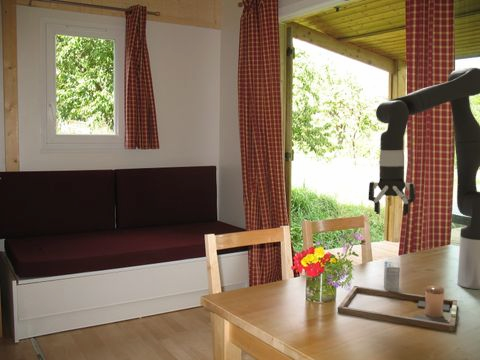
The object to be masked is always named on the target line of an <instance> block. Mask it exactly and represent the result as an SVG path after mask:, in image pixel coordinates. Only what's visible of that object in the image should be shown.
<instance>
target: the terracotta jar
mask: <svg viewBox="0 0 480 360" xmlns="http://www.w3.org/2000/svg"><path fill="white" fill-rule="evenodd" d="M424 296H425V308H424V316H427V317H433V318H439V319H440V318H442V317H443V313H444V311H443V299H445V298H444V297H445V288H444V287H442V286H438V285H427V286H425V295H424Z"/></svg>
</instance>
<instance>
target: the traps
mask: <svg viewBox="0 0 480 360" xmlns="http://www.w3.org/2000/svg"><path fill="white" fill-rule="evenodd" d="M450 307H451V306H450V304H444V303H443V312H447V313H449V312H450ZM417 308H419V309H420V308H421V309H425V301H424V300H419V301H418V304H417ZM413 318H417V319H423V320H429V321H435V322H441V323H448V324H449V322H448V321H449V320H448V319H444V318H440V317H439V318H435V317H429V316H427V315H420V314H419V315H418V314H414V315H413Z"/></svg>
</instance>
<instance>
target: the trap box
mask: <svg viewBox="0 0 480 360" xmlns="http://www.w3.org/2000/svg"><path fill="white" fill-rule="evenodd" d="M357 293H360V294H361V293H362V294H368V295H376V296H382V297H386V298H387V297H388V298H389V297H390V298H396V299H401V300H402V299H403V300H408V301H415V302H419V300H424V301H425V296H426V295H422V294H421V295H420V294H414V293H409V292H408V293H406V292H400V291H399V292H394V291H387V290H385V289H378V288H373V287H371V288H370V287H364V286H358V285H354V286H353V287H352V289H351V290H350V291H348V294H346V296H345V297H344V298H343V300H342V302H340V304H339V305H338V307H337V313H338V314H339V313H340V314H345V315H350V316H351V315H352V316H357V317H364V318H369V319H375V320H381V321H386V322H392V323H398V324H404V325H405V324H406V325H411V326H418V327H422V328H423V327H424V328H429V329H435V330H440V331H447V332H453V333H455V328H456V320H457V319H456V318H457V311H458V308H457V307H458V300H455V299H450V298H449V299H448V298H444V299H443V303H444V304H450V307H451V313H450V323H449V322H448V323H441V322H435V321H429V320H423V319H417V318H414V317H410V316H409V317H408V316H403V315H397V314H392V313H385V312H377V311H374V310H373V311H372V310H367V309H362V308H361V309H360V308H354V307H348V305H349V304H350V302H351V301H352V300H353V299H354V297H355V295H356V294H357Z"/></svg>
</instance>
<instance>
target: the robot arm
mask: <svg viewBox="0 0 480 360" xmlns="http://www.w3.org/2000/svg"><path fill="white" fill-rule="evenodd" d="M478 95H480V68H479V67H467V68H461V69H460V68H459V69H455V70H453V71H452V72H450V74H449V76H448V78H447V81H446V82H442V83H439V84H435V85H431V86H427V87H424V88H421V89H418V90H414V91H413V92H410V93H407V94H406V95H403V96H400V97H395V98H391V99H389V100H386V101H383V102H381V103H380V104H378V106H377V108H376V110H375V116H376V118H377V120H378V121H379V122H380V123H382V124H387V129H386V130H385V131H384V132H382V133H381V135H380V145H379V146H380V148H379V149H380V151H379V153H380V154H379V161H378V165H379V181H378V182H375V181H370V182H369V183H368V184H369V185H368V199H367V200H368V201H371V202H373V203H374V212H375V213H376V215H380V213H381V209H380V208H381V202H380V200H381V199H382V198H383V196H386V197H389V196H391V197H399V198H400V199H401V201H402V202H403V216H408V214H409V212H410V204H411V203H414V202H416V190H415V189H416V187H415V186H416V185H415V183H414V182H413V181H412V182H411V183H410V182H409V183H407V182H405V154H404V148H405V147H404V145H405V144H404V136H405V133H406V130H407V126H408V122H409V117H410V116H415V115H419V114H421V113H424V112H426V111H428V110H430V109H433V108H436V107H438V106H441V105H443V104H445V103H448V102H449V103H450V107H451V115H452V122H453V123H452V124H453V130H454V131H453V132H454V149H455V156H456V174H457V186H456V204H457V205H456V206H457V209H458V211H459V213H460V214H462V215H463V216H466V217H468V218H470V223H469V224H468V225H467V226H464V227H461V229H460V234H459V251H458V266H457V267H458V269H457V285H458V286H460V287H462V288H467V289H472V290H480V191H478V190H477V174H478V170H479V169H480V124H479V122H478V120H477V119H476V117H475V115H474V114H473V111H472V109H471V102H470V97H475V96H478ZM377 187H378V188H379V190H380V192H379V193H378V194H377V195H376V197H375V190H376V188H377ZM405 187H406V188H407V190H408V191H409V198H408V197H407V195H406V193H405V192H404V191H403V190H404V189H405Z"/></svg>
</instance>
